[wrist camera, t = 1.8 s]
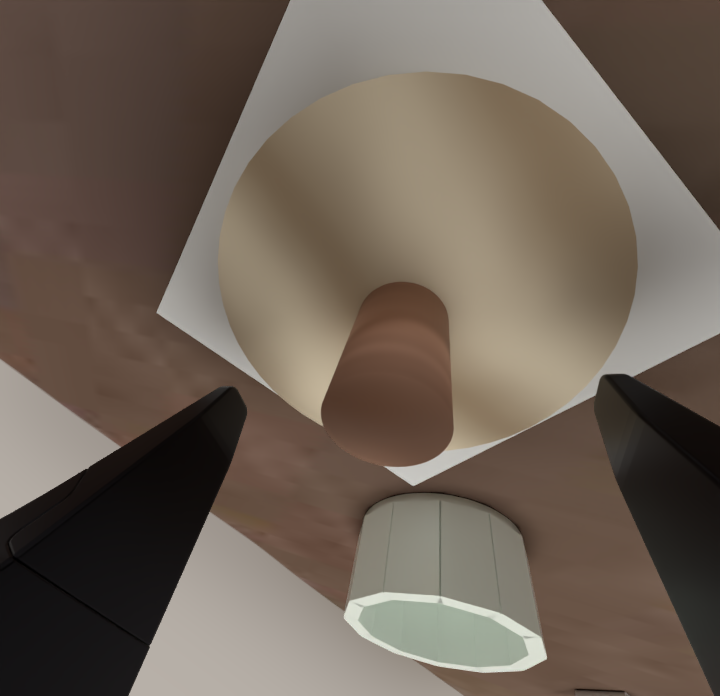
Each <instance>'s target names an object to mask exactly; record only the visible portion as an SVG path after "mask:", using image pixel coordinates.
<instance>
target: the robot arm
mask: <svg viewBox="0 0 720 696" xmlns="http://www.w3.org/2000/svg"><path fill="white" fill-rule="evenodd" d="M594 411H595V415H596V419H597V422H598V425H599V428H600V431H601V435H602V438H603V441H604V444H605V447H606V450H607V454H608V457H609V460H610V463H611V466H612V469H613V472H614V475H615V478H616V481H617V483H618V485H619V488H620V490H621V492H622V495H623V497H624V499H625V501H626V503H627V506H628V508H629V510H630V512H631V514H632V517H633V519H634V521H635V523H636V525H637V527H638V530H639V532H640V534H641V536H642V538H643V541H644V543H645V545H646V547H647V549H648V552H649V554H650V556H651V558H652V560H653V563H654V565H655V567H656V569H657V571H658V574H659V576H660V578H661V580H662V582H663V584H664V587H665V589H666V591H667V593H668V595H669V598H670V600H671V602H672V604H673V606H674V609H675V611H676V613H677V615H678V617H679V620H680V622H681V624H682V626H683V628H684V631H685V633H686V635H687V637H688V639H689V641H690V644H691V646H692V648H693V650H694V652H695V655H696V657H697V659H698V661H699V663H700V666H701V668H702V670H703V672H704V674H705V677H706V679H707V681H708V683H709V685H710V688H711V690H712V692H713V694H714V696H720V426H718V425H716V424H714V423H713V422H711V421H709V420H707V419H706V418H704V417H702V416H700V415H698V414H697V413H695V412H693V411H691V410H690V409H688V408H686V407H684V406H682V405H681V404H679V403H677V402H675V401H674V400H672V399H670V398H668V397H667V396H665V395H663V394H661V393H659V392H658V391H656V390H654V389H652V388H651V387H649V386H647V385H645V384H643V383H642V382H640V381H638V380H636V379H635V378H633V377H631V376H629V375H627V374H604V375H602V376H601V378H600V380H599V384H598V388H597V393H596V397H595V401H594ZM246 416H247V407H246V405H245V403H244V401H243V399H242V397H241V395H240V393H239V392H238V390H237V389H236V388H235V387H233V386H224V387H219V388H218V389H216V390H214V391H213V392H211V393H209V394H208V395H206V396H204V397H203V398H201V399H200V400H198V401H196V402H195V403H193V404H191V405H190V406H188V407H186V408H185V409H183V410H182V411H180V412H178V413H177V414H175V415H173V416H172V417H170V418H168V419H167V420H165V421H164V422H162V423H160V424H159V425H157V426H155V427H154V428H152V429H150V430H149V431H147V432H146V433H144V434H142V435H141V436H139V437H137V438H136V439H134V440H132V441H131V442H129V443H128V444H126V445H124V446H123V447H121V448H119V449H118V450H116V451H114V452H113V453H111V454H110V455H108V456H107V457H105V458H103V459H101V460H100V461H98V462H96V463H95V464H93V465H92V466H90V467H89V468H88V469H85V470H83V471H82V472H80V473H78V474H77V475H75V476H73V477H72V478H70V479H69V480H67V481H65V482H64V483H62V484H60V485H59V486H57V487H55V488H54V489H52V490H50V491H48V492H47V493H45V494H43V495H42V496H40V497H38V498H36V499H35V500H33V501H31V502H30V503H28V504H26V505H24V506H22V507H21V508H19V509H17V510H15V511H14V512H12V513H10V514H8V515H6V516H5V517H3V518H1V519H0V696H128V695H129V693H130V691H131V688H132V686H133V684H134V682H135V680H136V677H137V675H138V672H139V671H140V668H141V666H142V664H143V661H144V659H145V657H146V655H147V652H148V650H149V648H150V647H149V645H150V644H151V643H152V640H153V638H154V636H155V634H156V631H157V629H158V627H159V625H160V622H161V620H162V618H163V616H164V613H165V611H166V609H167V606H168V604H169V602H170V600H171V598H172V595H173V593H174V591H175V588H176V586H177V584H178V581H179V579H180V577H181V575H182V573H183V570H184V568H185V566H186V564H187V561H188V559H189V557H190V555H191V552H192V550H193V548H194V546H195V543H196V541H197V539H198V537H199V534H200V532H201V530H202V528H203V525H204V523H205V521H206V518H207V516H208V514H209V512H210V509H211V507H212V505H213V503H214V500H215V498H216V496H217V494H218V491H219V489H220V487H221V485H222V482H223V480H224V478H225V476H226V473H227V471H228V469H229V466H230V464H231V461H232V458H233V455H234V452H235V449H236V446H237V443H238V440H239V437H240V434H241V431H242V428H243V425H244V422H245V419H246Z"/></svg>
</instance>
